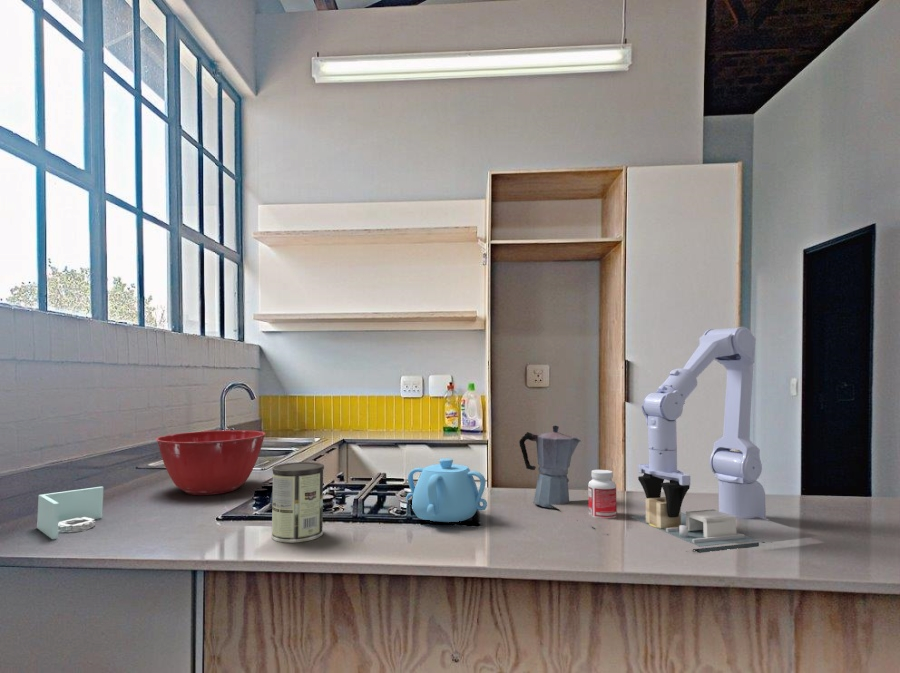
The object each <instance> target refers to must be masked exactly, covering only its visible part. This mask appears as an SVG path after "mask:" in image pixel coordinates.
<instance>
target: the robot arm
mask: <svg viewBox="0 0 900 673" xmlns="http://www.w3.org/2000/svg"><path fill="white" fill-rule="evenodd" d="M698 342H699V343H698V344H699V345H698V346H697V348H696V349H695V350H694V352H693V353H692V354H691V357H689V359H688V361H687V362H686V363H685V364H684V366H683V367H682V368H681V367H680V368H675V369H672V370H671V371H670V372H669V376H668V377H667V378H666V379H665V380H664V382H663V383H662V384H660V385H659V386H658V387H657V390H656V391H655V392H651V393H649V394H647V395H646V397H645V398H644V399H643V402H642V404H641V411H642V413H643V415H644V416H645V424H646V426H647V435H648V436H647V439H648V440H647V441H648V464H647V463H640V464H639V463H638V470H637V471H638V473H639V474H643V475H639V476H637V478H638V481H639V483H640V484H641V487H642V489H643V491H644V494H645V497H646V498H659V497H661V495H662V490H663V493H664V497H666V504H667V513H668V517H678V516H679V513H680V508H681V507H682V504H683V501H684V499H685V496H687V492H688V491H689V490H690V488H691V475H690V474H687V473H684V472H682V471H681V470H679V469H678V450H677V449H678V445H677V443H678V442H677V441H678V440H677V435H678V434H677V433H678V432H677V420H678V419H679V418H680V417H682V414H683V410H684V405H685V402H686V400H687V398H688V397H689V396H690V395H691V394H692V393H693V391H694V390H695V389H696V388H697V387H698V379H697V378H698V377H699V376H700V374H702V373H703V372H704V371H705V370H706V369H707V368H708V367H709V366H710V365H711V364H712V362H714V361H716V362H717V363H719V364H720V365H723V367H724V368H725V369H726V370H727V371H726V385H725V386H726V387H725V401H724V412H723V413H724V414H723V416H724V417H723V431H722V433H723V434H722V437H720V438H718V439H717V440H716V441H714V443H713V449H712V452H711V454H710V457H709V468H710V470H711V472H712V473H713V474H714V476H715V478H716V479H717V482H718V483H717V485H718V486H717V487H718V511H720V512H723V513H726V514H729V515H732V516H735V517H736V519H739V520H743V519H744V520H749V519H755V518H760V519H762V520H766V521H769V520H770V519H768V518H767V513H766V512H767V510H766V509H767V508H766V491H765V488H764V486H763V484H761V482H759V481H758V479H759V478H760V476H761V474H762V470H763V464H762V460H761V457H760V456H761V454H760V453H761V450H760V448H759V447H758V446H757V445H756V444H754V442H752V441H751V439H750V426H751V425H750V424H751V408H752V394H753V393H752V390H753V380H754V379H753V378H754V363H755V358H756V357H755V354H756V353H755V352H756V342H757V341H756V337H755V336H754V335H753V333H752V331H751V330H750V329H749V328H748V327H745V326H739V327H730V328H729V327H727V328H717V329H714V328H709V329H706V331H704V333H703V334H702V335H701V336H700V337H699V340H698ZM735 450H738V451H735ZM665 480H666V481H667V482H664V481H665ZM681 509H682V508H681Z"/></svg>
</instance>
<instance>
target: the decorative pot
mask: <svg viewBox="0 0 900 673" xmlns="http://www.w3.org/2000/svg"><path fill="white" fill-rule="evenodd" d="M438 462H439V463H438V464H431V465H426V467H415V468H413V469H411V470H410V471H409V473H408V474H407V481H408V486H409V489H410V492H408V493H407V495H406V497H405V500H406V502H407V501H408V499H409V498H411V496H412V498H411V500H412V505H411V507H412V511H413V513H414V514H415V516H416V517H417V518H418V519H420V520H430V521H433V522H440V523H449V522H459V521H460V522H463V521H466V520H469V519H471V518H472V517H473V516H474V515H475V514H476V512H477V511H480V512H481V511H484V510H486V509H487V507H488V502H487V500H486V499H485V498H482V497H483V494H484V491H485V488H486V478H485V476H484V475H483V474H482V473H481V472H480V471H477V470H471V469H470V468H469V467H468V466H467V465H463V464H462V465H461V464H456V463H455V464H453V462H454V459H453V458H447V457H446V458H440V459H439V461H438ZM416 473H420V475H419V477H418V479H417V481H416V485H415V482H414V475H415V474H416ZM474 477H477V478H478V479H479V484H480V485H479V489H478V486H477V483H476V481H475V479H474ZM481 503H482V505H481Z"/></svg>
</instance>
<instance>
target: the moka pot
mask: <svg viewBox="0 0 900 673" xmlns="http://www.w3.org/2000/svg"><path fill="white" fill-rule="evenodd" d="M559 429H560V426H558V425H553V426H552V432H550V431H549V432H544V433H531V432H528V431H527V432H525V434H524V435H523V436H521V439H519V447H520V450H521V453H522V454H521V455H522V457H523V460H524V463H525V464H524V465H525V468H526V469H527V470H532V471H535V470H536V468H537V467H536V466H535V465H531V463H530V461H529V457H528V456H529V455H528V452H527V449H526V448H527V447H526V444H525V442H526V441H527V440H529V441H532V442H536V453H537V454H536V455H537V456H536V457H537V464H538V465H539V466H538V468H537V469H538V472H539V473H538V477H537V481H536V486H535V492H534V498H533V504H535V505H537V506H538V507H539V506H540V507H543V508H548V509H558V507H555V506H554V505H564V504H569V502H570V492H569V481H570V480H569V477H568V473H569V468H570V467H571V461H572V456H573V455H574V453H575V450H576V448H577V446H578V444H579V443H580V442H581V440H580V438H578V437H576V436H571V435H567V434H564V433H562V432H559Z"/></svg>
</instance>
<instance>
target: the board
mask: <svg viewBox="0 0 900 673" xmlns="http://www.w3.org/2000/svg"><path fill="white" fill-rule="evenodd" d="M630 518H631V519H634V520H637V521H638V522H640V523H643V524H645V525H647V526H650V527H652V528H655V529H657V530H659V531H661V532H664V533H666V534H669V535H671V536H674V537H675V538H679V540H682V541H686V543H687V542H688V543H689V544H692V545H695V546H697V547H701V548H693V550H692V551H694V550H695V551H694V552H696V551H697V553H699V554H700V553H701V554H702V553H710V551H712V552H718V551H719V550H721V551H728V550H727V549H730V550H737V548H738V549H747V548H755V547H760V542H755V541H758V539H757V538H754V537H751V536H748V535H747V534H746V535H745V534H744V533H740V532H737V531H736V535H727V536H717V537H707V538H706V537H704V531H703V530H694V531H688V526H686V512H682V511H681V525H680V526H679V527H670V528H659V527H657V526H654V525H652V524H649V523H647V522H646V514H644V515H634V516H632V515H631V516H630ZM747 542H748V543H747ZM736 543H739V544H736ZM726 544H727V545H726ZM728 544H731V545H728ZM716 545H721V546H716ZM709 546H711V547H709ZM719 552H720V551H719Z"/></svg>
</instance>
